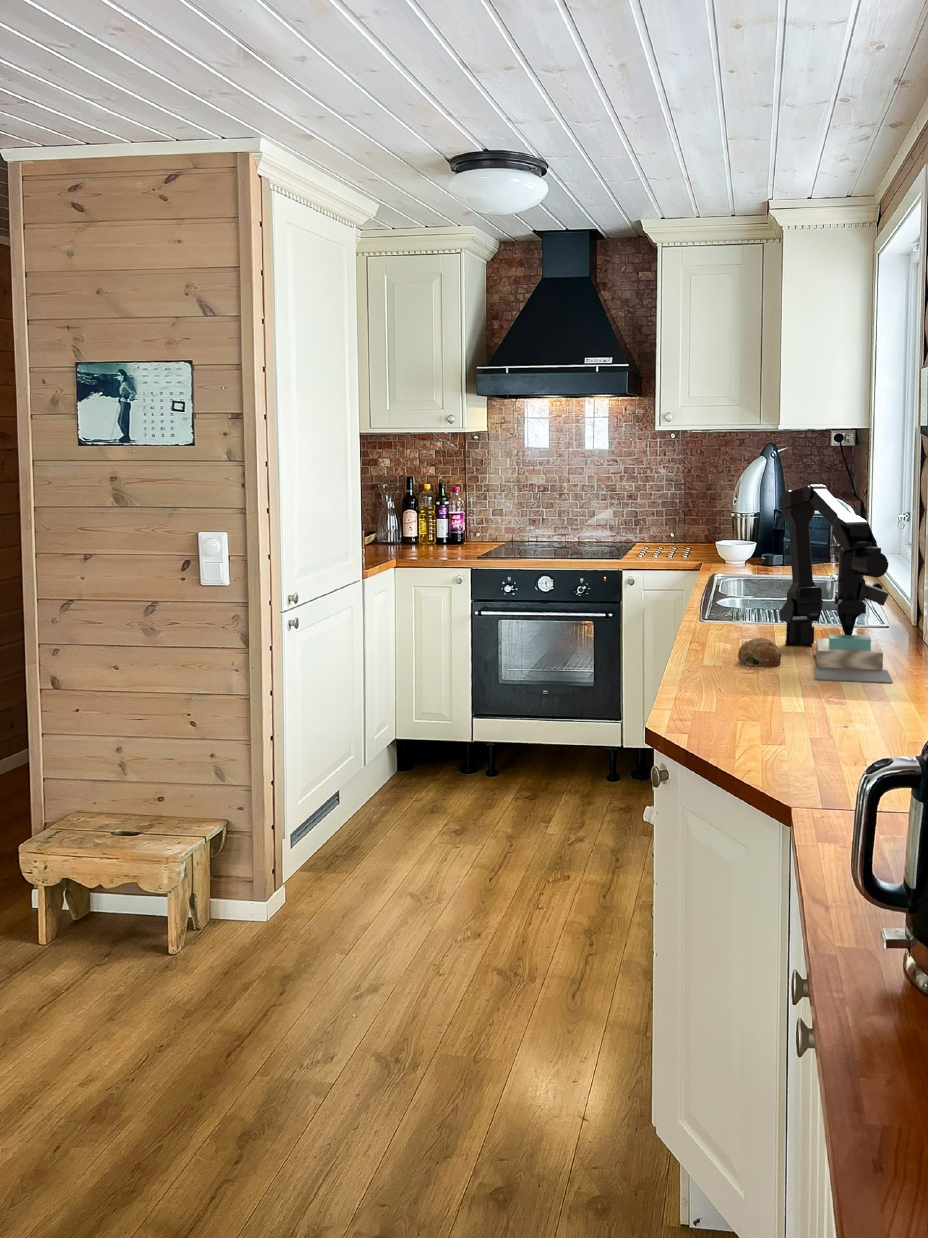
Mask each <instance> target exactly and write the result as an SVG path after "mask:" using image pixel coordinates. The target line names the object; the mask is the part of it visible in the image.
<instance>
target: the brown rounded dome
mask: <svg viewBox="0 0 928 1238" xmlns="http://www.w3.org/2000/svg"><path fill="white" fill-rule="evenodd" d="M737 653H738V654H737V655H738V656H737V657H738V662H739V663H740V662H741V663H742V664H741V663H740V664H741V665H743V664H744V665H743V666H747V665H748V666H747V667H755V666H756V667H758V668H775V667H779V666H780V665H781V660H782V659H781V658H782V651H781V649H780V647H779V646H778V645H777V644H776V643H775V642H774V641H772V640H771V639H768V638H765V637H755V638H752V639H750V640H747V641H745V642H744V643H742V644H741V646H740V648H739V650H738V652H737Z"/></svg>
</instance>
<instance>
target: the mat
mask: <svg viewBox="0 0 928 1238" xmlns="http://www.w3.org/2000/svg"><path fill="white" fill-rule="evenodd" d="M812 670H813V675H814V681H825V682H826V681H830V682H846V683H847V682H850V683H851V682H852V683H870V684H871V683H873V684H875V683H876V684H892V683H893V680H892V677H891V675H890V672H889V671H888V669H882V670H876V669H852V668H828V667H818V666H813V669H812Z"/></svg>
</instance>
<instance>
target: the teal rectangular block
mask: <svg viewBox="0 0 928 1238" xmlns="http://www.w3.org/2000/svg"><path fill="white" fill-rule="evenodd" d="M828 639H829V649H841V650H868V651H871V640H872V639H871V637H870V635H865V634H864V635H860V634H859V635H858V634H852V635H845V634H834V633H833V634H830V633H829V634H828Z"/></svg>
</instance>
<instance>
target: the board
mask: <svg viewBox="0 0 928 1238" xmlns="http://www.w3.org/2000/svg"><path fill="white" fill-rule="evenodd" d="M815 645H816V646H815V647H816V648H815V649H816V650H815V657H816V663H817V667H828V668H852V669H876V670H883V669H884V668H883V665H884V652H883V649H882V648H881V646H880V644H879V641H878V640H876V639H874V640H873V639H871V651H868V650H841V649H829V638H823V637H822V638H819V637H817V638H816V643H815Z"/></svg>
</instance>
